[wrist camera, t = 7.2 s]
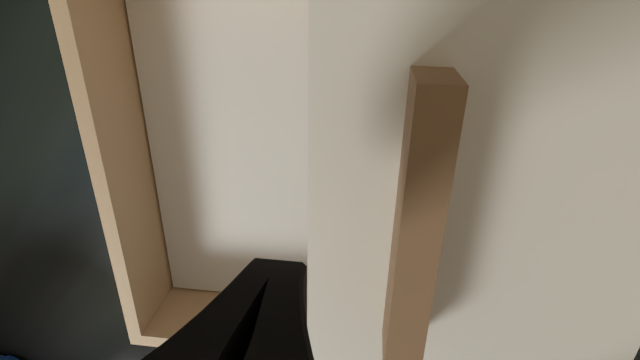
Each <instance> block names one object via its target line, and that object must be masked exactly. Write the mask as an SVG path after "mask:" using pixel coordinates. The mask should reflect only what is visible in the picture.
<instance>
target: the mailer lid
mask: <svg viewBox="0 0 640 360" xmlns="http://www.w3.org/2000/svg"><path fill="white" fill-rule="evenodd" d="M307 329H308V334H309V339H310V344H311V348H312V353H313V357H314V360H634V358H635V356H636V354H637V352H638V349H639V347H640V0H309V18H308V244H307Z"/></svg>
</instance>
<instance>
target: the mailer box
mask: <svg viewBox="0 0 640 360" xmlns="http://www.w3.org/2000/svg"><path fill="white" fill-rule="evenodd" d="M48 1H49V6H50V10H51V14H52V18H53V22H54V26H55V31H56V35H57V39H58V43H59V47H60V51H61V56H62V60H63V64H64V68H65V72H66V77H67V81H68V85H69V89H70V93H71V97H72V102H73V106H74V110H75V114H76V118H77V122H78V127H79V131H80V135H81V139H82V143H83V148H84V152H85V156H86V160H87V164H88V168H89V173H90V177H91V181H92V185H93V189H94V193H95V198H96V202H97V206H98V210H99V214H100V218H101V223H102V227H103V231H104V235H105V239H106V244H107V248H108V252H109V256H110V260H111V264H112V269H113V273H114V277H115V281H116V285H117V289H118V294H119V298H120V302H121V306H122V310H123V315H124V319H125V323H126V327H127V331H128V335H129V340H130V344H133V345H143V346H152V347H159V346H160V345H161V344H163V343H164V342H165V341H166V340H168V339H169V338H170V337H171V336H173V335H174V334H175V333H176V332H177V331H178V330H180V329H181V328H182V327H183V326H184V325H185V324H187V323H188V322H189V321H190V320H191V319H192V318H194V317H195V316H196V315H197V314H198V313H199V312H200V311H202V310H203V309H204V308H205V307H206V306H207V305H208V304H209V303H210V302H211V301H212V300H213V299H214V298H215V297H216V296H217V295H218V294H219V293H221V292H222V291H223V290H224V289H225V288H226V287H227V286H228V285H229V284H230V283H231V282H232V281H233V280H234V279H235V277H236V276H237V275H238V274H239V273H240V272H241V271H242V270H243V269H244V268H245V267H246V266H247V265H248V264H249V263H250V262H251V261H252V260H253V259H255V258H262V259H273V260H285V261H296V262H303V263H304V264H305V265H306V266H307V244H308V18H309V0H48Z"/></svg>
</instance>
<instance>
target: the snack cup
mask: <svg viewBox="0 0 640 360" xmlns="http://www.w3.org/2000/svg"><path fill="white" fill-rule="evenodd" d="M0 360H20V359H18V358H16V357H14V356H10V355H7V356H3V355H0Z"/></svg>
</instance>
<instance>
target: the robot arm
mask: <svg viewBox="0 0 640 360" xmlns="http://www.w3.org/2000/svg"><path fill="white" fill-rule="evenodd" d="M141 360H314V357H313V353H312V348H311V344H310V339H309V334H308V329H307V266H306V265H305V264H304V263H303V262H296V261H285V260H273V259H262V258H255V259H253V260H252V261H251V262H250V263H249V264H248V265H247V266H246V267H245V268H244V269H243V270H242V271H241V272H240V273H239V274H238V275H237V276H236V277H235V279H234V280H233V281H232V282H231V283H230V284H229V285H228V286H227V287H226V288H225V289H224V290H223V291H222V292H221V293H219V294H218V295H217V296H216V297H215V298H214V299H213V300H212V301H211V302H210V303H209V304H208V305H207V306H206V307H205V308H204V309H203V310H202V311H200V312H199V313H198V314H197V315H196V316H195V317H194V318H192V319H191V320H190V321H189V322H188V323H187V324H185V325H184V326H183V327H182V328H181V329H180V330H178V331H177V332H176V333H175V334H174V335H173V336H171V337H170V338H169V339H168V340H166V341H165V342H164V343H163V344H161V345H160V346H159V347H157V348H156V349H155V350H153V351H152V352H151V353H149V354H148V355H147V356H145V357H144V358H143V359H141Z"/></svg>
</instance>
